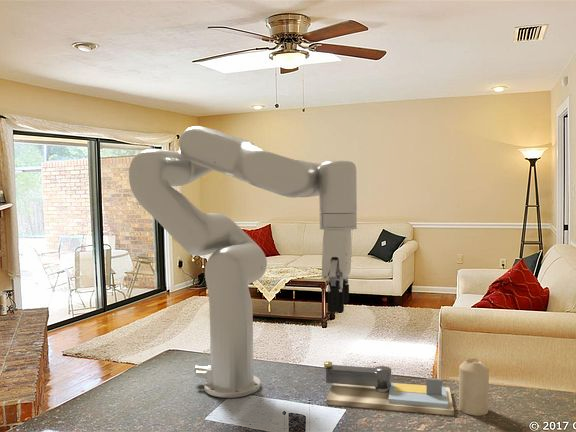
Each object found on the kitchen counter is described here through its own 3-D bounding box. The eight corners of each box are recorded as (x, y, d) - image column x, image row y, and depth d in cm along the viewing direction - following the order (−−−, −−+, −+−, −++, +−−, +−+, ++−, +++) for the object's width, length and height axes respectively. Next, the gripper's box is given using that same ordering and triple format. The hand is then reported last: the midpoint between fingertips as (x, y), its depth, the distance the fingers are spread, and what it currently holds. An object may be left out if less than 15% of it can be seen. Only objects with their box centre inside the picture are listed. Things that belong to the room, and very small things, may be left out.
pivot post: (374, 396, 109) (374, 388, 109) (375, 391, 112) (375, 382, 112) (390, 398, 108) (390, 389, 108) (390, 392, 111) (390, 383, 111)
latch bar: (391, 382, 111) (391, 364, 111) (390, 388, 108) (390, 370, 107) (325, 377, 115) (325, 359, 114) (322, 383, 111) (322, 365, 111)
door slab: (388, 402, 103) (388, 383, 103) (390, 386, 112) (390, 368, 112) (448, 407, 100) (448, 387, 100) (445, 390, 109) (445, 372, 109)
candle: (490, 417, 99) (491, 365, 98) (460, 414, 100) (461, 364, 99) (485, 405, 104) (486, 356, 103) (457, 403, 105) (457, 355, 105)
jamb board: (326, 404, 105) (326, 399, 105) (334, 383, 117) (334, 378, 117) (453, 415, 99) (453, 410, 99) (449, 392, 111) (449, 387, 111)
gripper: (326, 219, 114) (327, 297, 115) (311, 224, 97) (312, 316, 98) (360, 219, 112) (361, 299, 113) (351, 224, 95) (352, 318, 96)
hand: (338, 306), depth 105 cm, fingers open, 7 cm apart
